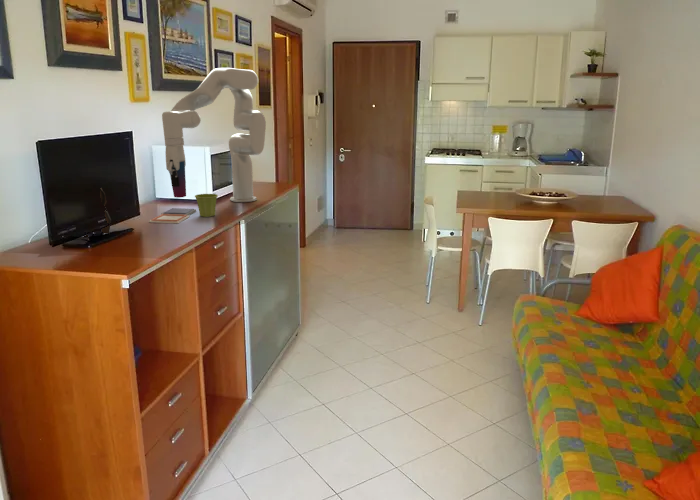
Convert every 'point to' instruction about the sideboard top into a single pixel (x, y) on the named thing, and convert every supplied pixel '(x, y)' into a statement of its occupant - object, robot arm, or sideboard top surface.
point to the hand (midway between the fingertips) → (178, 184)
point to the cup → (180, 182)
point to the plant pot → (206, 204)
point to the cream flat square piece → (169, 218)
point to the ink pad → (180, 211)
